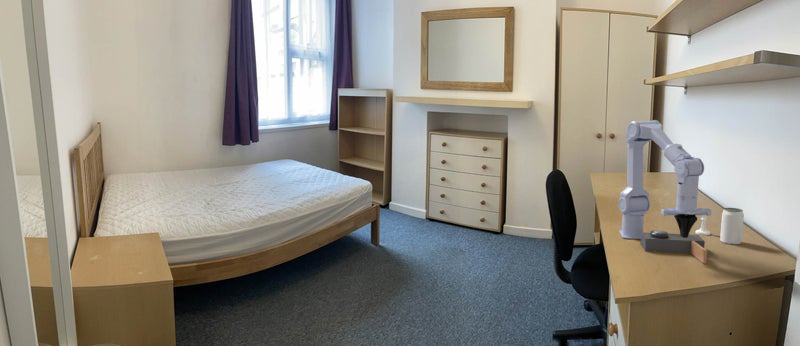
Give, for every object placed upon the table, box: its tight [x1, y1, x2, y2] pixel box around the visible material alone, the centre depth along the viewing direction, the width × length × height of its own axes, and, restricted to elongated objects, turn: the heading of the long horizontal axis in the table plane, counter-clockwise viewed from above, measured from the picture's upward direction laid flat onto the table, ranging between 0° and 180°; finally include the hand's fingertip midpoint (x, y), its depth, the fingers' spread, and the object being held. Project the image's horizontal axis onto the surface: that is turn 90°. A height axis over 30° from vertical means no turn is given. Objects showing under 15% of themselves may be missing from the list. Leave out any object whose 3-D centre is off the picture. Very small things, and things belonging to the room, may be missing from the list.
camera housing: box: [640, 230, 706, 254], centre depth 172 cm, size 8×18×6 cm, turn 75°
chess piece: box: [695, 215, 711, 236], centre depth 188 cm, size 5×5×10 cm
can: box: [719, 207, 745, 246], centre depth 177 cm, size 6×6×12 cm
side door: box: [690, 241, 709, 264], centre depth 162 cm, size 1×10×4 cm, turn 170°
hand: (684, 236), depth 161 cm, fingers closed
